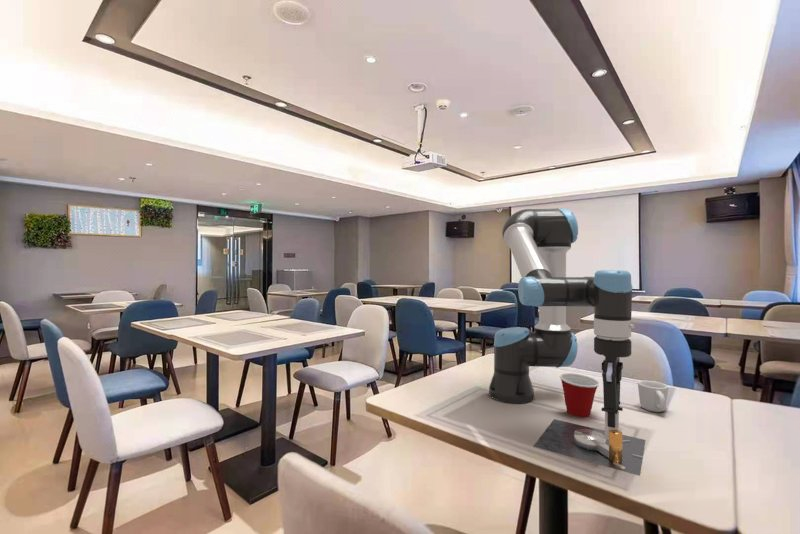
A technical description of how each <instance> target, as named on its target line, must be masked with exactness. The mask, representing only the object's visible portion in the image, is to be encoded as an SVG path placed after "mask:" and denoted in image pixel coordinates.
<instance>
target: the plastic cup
mask: <svg viewBox="0 0 800 534" xmlns="http://www.w3.org/2000/svg"><path fill="white" fill-rule="evenodd" d="M559 378H560V380H561V384H562V385H561V386H562V391H563V395H564V396H563V397H564V404H565V408H566V413H567V414H569V415H570V416H573V417H576V418H577V417H578V418H588V417H591V413H592V409H593V406H594V400H595V399H594V398H595V394H596V392H597V389H598V387H599V386H600V384H601V382H600V381H599V380H597V379H596V378H595V377H591V376H588V375H584V374H582V373H581V374H580V373H572V372H571V373H570V372H569V373H568V372H566V373H561V374H560V375H559Z"/></svg>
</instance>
